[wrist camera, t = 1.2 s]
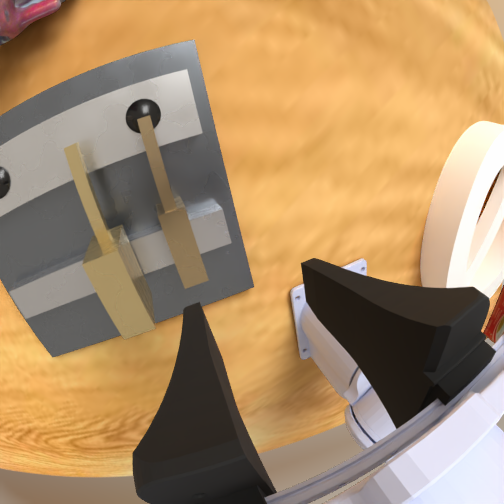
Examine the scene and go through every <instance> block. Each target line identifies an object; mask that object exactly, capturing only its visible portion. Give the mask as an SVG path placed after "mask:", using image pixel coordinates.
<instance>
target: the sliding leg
mask: <svg viewBox="0 0 504 504" xmlns="http://www.w3.org/2000/svg"><path fill="white" fill-rule="evenodd" d="M64 152H65V155H66V158H67V161H68V164H69V167H70V170H71V173H72V176H73V179H74V182H75V185H76V188H77V190H78V193H79V196H80V198H81V201H82V204H83V206H84V209H85V211H86V214H87V216H88V219H89V221H90V224H91V226H92V229H93V231H94V233H95V235H94V236H92V238H91V241H90V244H89V246H88V249H87V252H86V254H85V257H84V260H83V263H82V266H83V268H84V270H85V272H86V274H87V276H88V278H89V280H90V281H91V283H92V285H93V287H94V289H95V291H96V293H97V294H98V296H99V298H100V300H101V302H102V303H103V305H104V307H105V309H106V310H107V312H108V314H109V316H110V317H111V319H112V321H113V322H114V324H115V326H116V327H117V329H118V330H119V332H120V334H121V335H122V337H123V338H124V339H127V338H130V337H133V336H136V335H139V334H142V333H145V332H148V331H151V330H153V329H156V325H155V317H154V309H153V300H152V292H151V290H150V288H149V286H148V284H147V282H146V279H145V277H144V275H143V273H142V271H141V268H140V266H139V264H138V261H137V259H136V257H135V254H134V252H133V250H132V247H131V245H130V242H129V240H128V238H127V235H126V233H125V230H124V228H123V225H119V226H117V227H114V228H112V229H109V227H108V225H107V222H106V220H105V217H104V215H103V212H102V210H101V207H100V204H99V202H98V199H97V196H96V194H95V191H94V188H93V185H92V183H91V180H90V177H89V174H88V171H87V168H86V165H85V162H84V159H83V155H82V152H81V149H80V146H79V142H77V143H75V144H72V145H70V146H68V147H66V148H64Z"/></svg>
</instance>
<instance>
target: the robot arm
mask: <svg viewBox="0 0 504 504" xmlns="http://www.w3.org/2000/svg"><path fill="white" fill-rule="evenodd" d="M301 267H302V274H303V282H304V284H301V285H299V286H297V287H294V288H293V289H292V290H291V292H290V296H291V302H292V308H293V315H294V321H295V328H296V334H297V341H298V348H299V355H300V358H301V359H302V360H305V359H307V358H309V357H311V358H312V359H313V361H314V362H315V363H316V365H317V366H318V367H319V369H320V370H321V372H322V373H323V374H324V376H325V377H326V378H327V380H328V381H329V382H330V384H331V385H332V387H333V388H334V389H335V391H336V392H337V393H338V394H339V395H340V396H341V397H343V398H345V399H347V400H348V402H349V403H350V404H349V405H348V406H347V407H346V408H345V423H346V426H347V429H348V431H349V432H350V434H351V436H352V437H353V439H354V440H355V441H356V443H357V444H358V445H359V446H360V447H361V448H362V449H363V450H364V451H362V452H360V453H359V454H357V455H355V456H353V457H351V458H350V459H348V460H346V461H344V462H342V463H341V464H339V465H337V466H335V467H333V468H331V469H329V470H327V471H325V472H323V473H321V474H319V475H317V476H315V477H313V478H311V479H308V480H306V481H304V482H302V483H299V484H297V485H295V486H292V487H290V488H288V489H285V490H283V491H280V492H278V493H277V492H276V490H275V488H274V486H273V484H272V482H271V480H270V478H269V476H268V474H267V472H266V470H265V468H264V466H263V464H262V462H261V460H260V458H259V456H258V454H257V451H256V449H255V447H254V445H253V443H252V441H251V438H250V436H249V434H248V432H247V430H246V427H245V425H244V423H243V421H242V418H241V416H240V414H239V411H238V408H237V406H236V403H235V399H234V396H233V393H232V389H231V386H230V383H229V379H228V376H227V372H226V369H225V366H224V362H223V359H222V356H221V354H220V351H219V349H218V346H217V344H216V341H215V339H214V336H213V334H212V331H211V329H210V327H209V324H208V322H207V319H206V317H205V314H204V312H203V309H202V307H201V304H200V302H198V303H195V304H192V305H189V306H187V307H185V308H184V310H183V326H182V334H181V340H180V346H179V351H178V355H177V359H176V363H175V367H174V371H173V374H172V377H171V380H170V383H169V386H168V388H167V391H166V394H165V396H164V399H163V401H162V403H161V405H160V408H159V410H158V412H157V414H156V415H155V417H154V419H153V421H152V423H151V425H150V427H149V429H148V430H147V432H146V434H145V435H144V437H143V438H142V440H141V441H140V443H139V444H138V446H137V448H136V449H135V450H134V452H133V476H134V482H135V487H136V493H137V495H138V497H140V498H141V499H142V500H144V501H145V502H147V503H150V504H308V503H310V502H312V501H315V500H317V499H319V498H321V497H323V496H325V495H327V494H329V493H331V492H334V491H335V490H337V489H339V488H341V487H343V486H345V485H347V484H348V483H350V482H352V481H354V480H356V479H358V478H359V477H361V476H363V475H365V474H366V473H368V472H370V471H371V470H373V469H375V468H376V467H378V466H379V465H381V464H382V463H384V462H385V464H384V465H383V466H382V467H381V468H380V469H378V470H377V471H376V472H374V473H372V474H371V475H370V476H368V477H366V478H365V479H363V480H362V481H360V482H358V483H357V484H355V485H354V486H352V487H350V488H349V489H347V490H345V491H344V492H342V493H340V494H338V495H337V496H335V497H333V498H331V499H329V500H328V501H326V502H324V503H322V504H504V432H503V431H502V430H501V429H500V428H499V427H498V426H497V425H496V423H497V422H498V421H499V420H500V418H501V416H502V415H503V414H504V334H503V335H502V336H501V337H500V338H499V340H498V341H497V342H496V343H495V344H494V345H493V346H492V347H491V346H490V345H489V344H487V343H486V342H485V341H484V340H485V339H486V335H485V334H483V333H482V332H481V329H482V327H483V324H484V322H485V319H486V316H487V314H488V310H489V306H490V301H489V297H487V296H486V295H485V294H483V293H482V292H480V291H479V290H478V289H476V288H475V287H458V288H432V287H419V286H410V285H404V284H398V283H393V282H388V281H384V280H380V279H376V278H372V277H369V276H366V268H367V263H366V260H364V259H359V260H357V261H355V262H352V263H350V264H348V265H346V266H343V267H339V266H336V265H333V264H330V263H328V262H325V261H322V260H319V259H316V258H313V259H310V260H308V261H305V262H303V263H301ZM361 268H362V269H361ZM297 296H298V297H297ZM296 297H297V298H296Z"/></svg>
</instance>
